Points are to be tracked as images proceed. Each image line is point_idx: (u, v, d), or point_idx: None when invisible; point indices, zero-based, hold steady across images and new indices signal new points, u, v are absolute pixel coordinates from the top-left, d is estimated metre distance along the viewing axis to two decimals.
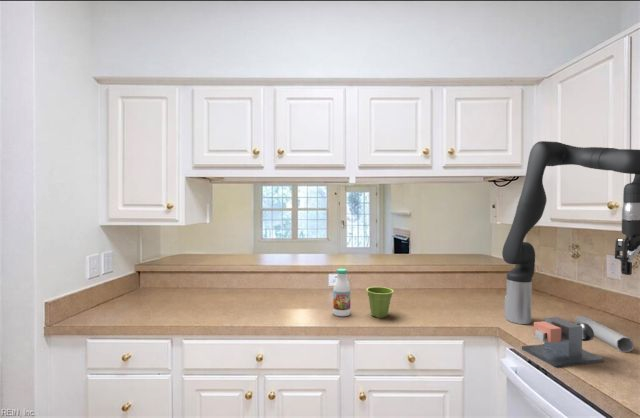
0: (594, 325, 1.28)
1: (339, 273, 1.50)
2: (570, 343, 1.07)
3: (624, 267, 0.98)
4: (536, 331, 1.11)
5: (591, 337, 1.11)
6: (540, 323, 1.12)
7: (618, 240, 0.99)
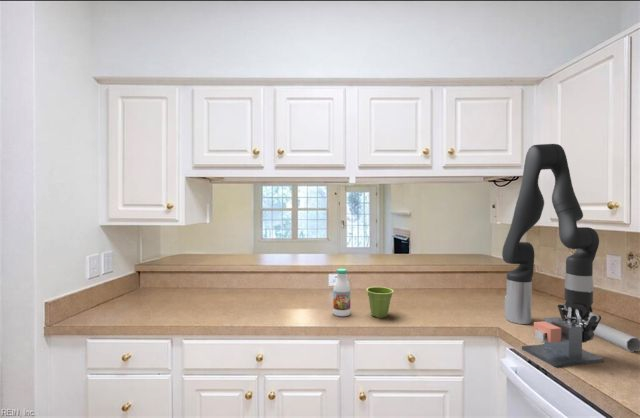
0: None
1: (339, 273, 1.50)
2: (570, 343, 1.07)
3: (586, 336, 1.10)
4: (536, 331, 1.11)
5: (591, 337, 1.11)
6: (540, 323, 1.12)
7: (596, 318, 1.06)
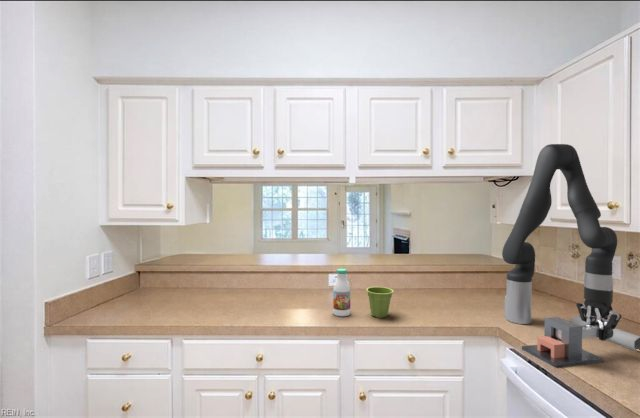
0: None
1: (339, 273, 1.50)
2: (570, 343, 1.07)
3: (606, 334, 1.11)
4: (556, 329, 1.12)
5: (611, 335, 1.12)
6: (544, 338, 1.12)
7: (617, 317, 1.08)
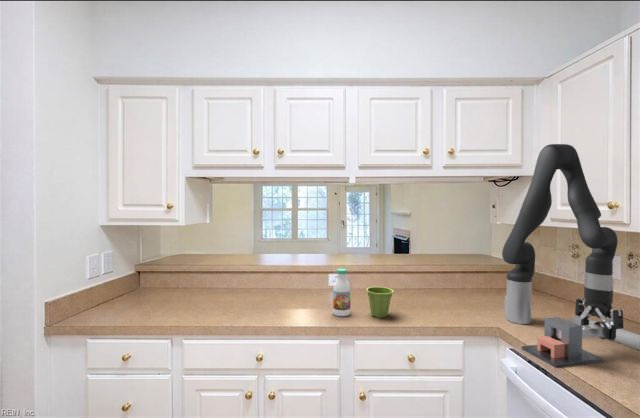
0: None
1: (339, 273, 1.50)
2: (570, 343, 1.07)
3: (614, 334, 1.09)
4: (557, 329, 1.12)
5: None
6: (544, 338, 1.12)
7: (618, 312, 1.07)
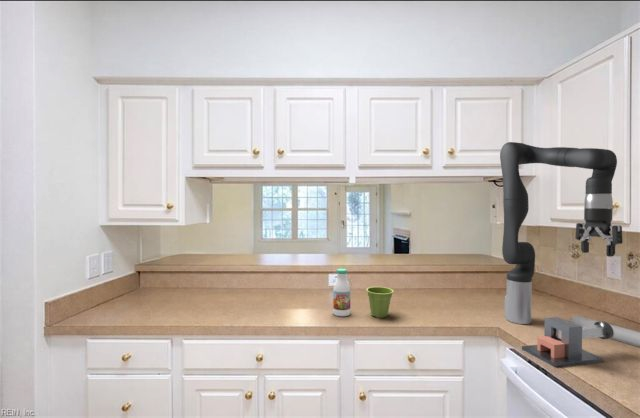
0: None
1: (339, 273, 1.50)
2: (570, 343, 1.07)
3: (613, 250, 1.12)
4: (557, 329, 1.12)
5: (611, 335, 1.12)
6: (544, 338, 1.12)
7: (617, 227, 1.10)
